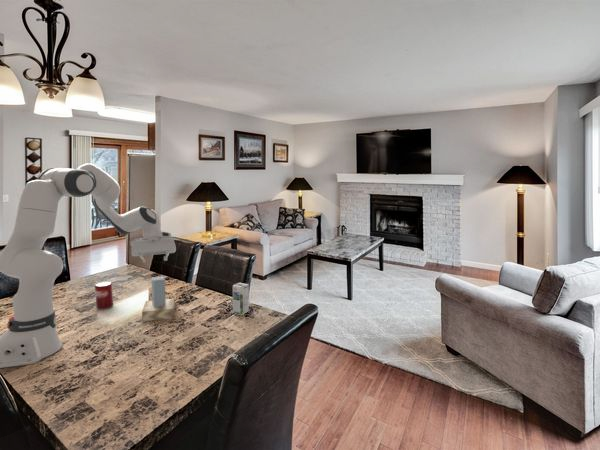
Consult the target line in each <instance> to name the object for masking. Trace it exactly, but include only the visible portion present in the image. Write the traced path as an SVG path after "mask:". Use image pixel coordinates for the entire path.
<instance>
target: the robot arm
mask: <svg viewBox="0 0 600 450" xmlns="http://www.w3.org/2000/svg"><path fill="white" fill-rule="evenodd" d="M120 194H121V187H120V184H119V183H118V182H117V181H116V179H114V178H113V177H112V176H111V175H110V174H108V173H107V172H106V171H105V170H103V169H101V168H100V167H99V166H97V165H95V164H93V163H84V164H82V165H80V166H78V167H77V168H76V169H75V168H68V167H57V168H55V167H54V168H53V167H52V168H47V169H44V170H43V171H41V172H39V174H38V176H37V178H36V179H34V180H29V181H28V182H27V183H26V184H25V186H24V187H23V190H22V193H21V195H20V199H19V203H18V208H17V212H16V217H15V221H14V222H15V223H14V227H13V231H12V233H11V235H10V238H9V239H8V241H7V243H6V244H5V246H4V248H2V250H1V251H0V273H1V274H3V275H5V276H7V277H9V278H10V277H11V278H15V279H18V281H19V285H18V290H17V292H16V293H15V294H13V297H12V308H13V310H12V311H13V315H11V316H10V317H9V318H8V321H7V324H6V326H7V327H6V329H7V330H6V331H4V332H3V333H2V334H0V369H2V368H9V367H17V366H27V365H32V364H36V363H38V362H39V361H41V360H43V359H44V358H46V357H49V356H51V355H53V354H55V353H57V352H58V351H59V350H60V349H62V347H63V343H62V341H61V339H60V337H59V334H58V330H57V315H56V311H55V310H54V303H53V289H54V288H53V287H54V284H55V280H56V279H57V278H58V277H59V276H60V275H61V274H62V272H63V269H64V262H63V260H62V257H60V256H59V255H57V254H56V253H54V252H51V251H49V250H43V247H44V244H45V243H46V241H47V239H49V238H50V237H51V236H52V235H53V234H54V232H55V227H56V221H57V217H58V216H57V215H58V208H59V207H58V206H59V202H60V200H61V198H62V197H65V198H76V197H77V198H83V197H86V196H89V195H91V196H92V197H93V203H94V207H95V208H96V209H97V210H98V211H99V212H100V213H101V214H102V216H104V218H105V219H106V220H107V221H109V223H110V224H111V225H112V226H113V228H114V229H115V231H116V232H117V233H119V234H120V235H125V236H127V235H128V236H129V235H130V234H131V233H133V232H135V231H137V230H139V229H141V228H142V238H134V239H132V240H130V242H129V245H130V247H131V256H132V257H139V258H140V259H141V260H142V263H144V264H146V263H147V258H146V257H144V256H154V255H165V256H163V261H164V262H167V261H168V257H169V256H170V254H174V253H176V251H177V247H176V246H177V245H176V243H175V240H174V239H173V237H172V233H171V232H167V231H162V230H161V220H160V217H159V214H158V213H157V211H155V210H154V209H151V208H149V207H146V206H144V205H142V206H139V207H136V208H133V209H132V210H129V211H127V212H125V213H122V214H119V213H118V212H117V210H115V209H114V208H113V207H112V205H113V204H114V203H116V201H118V199H119V197H120Z"/></svg>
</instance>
